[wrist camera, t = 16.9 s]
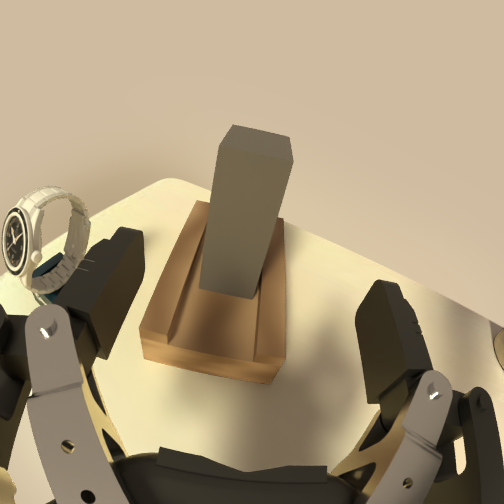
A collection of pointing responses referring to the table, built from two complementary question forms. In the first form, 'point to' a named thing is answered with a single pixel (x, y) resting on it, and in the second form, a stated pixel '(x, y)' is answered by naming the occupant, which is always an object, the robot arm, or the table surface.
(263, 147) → the tall taupe pillar block
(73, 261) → the watch
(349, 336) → the table surface
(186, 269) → the wooden channel tray
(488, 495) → the robot arm
